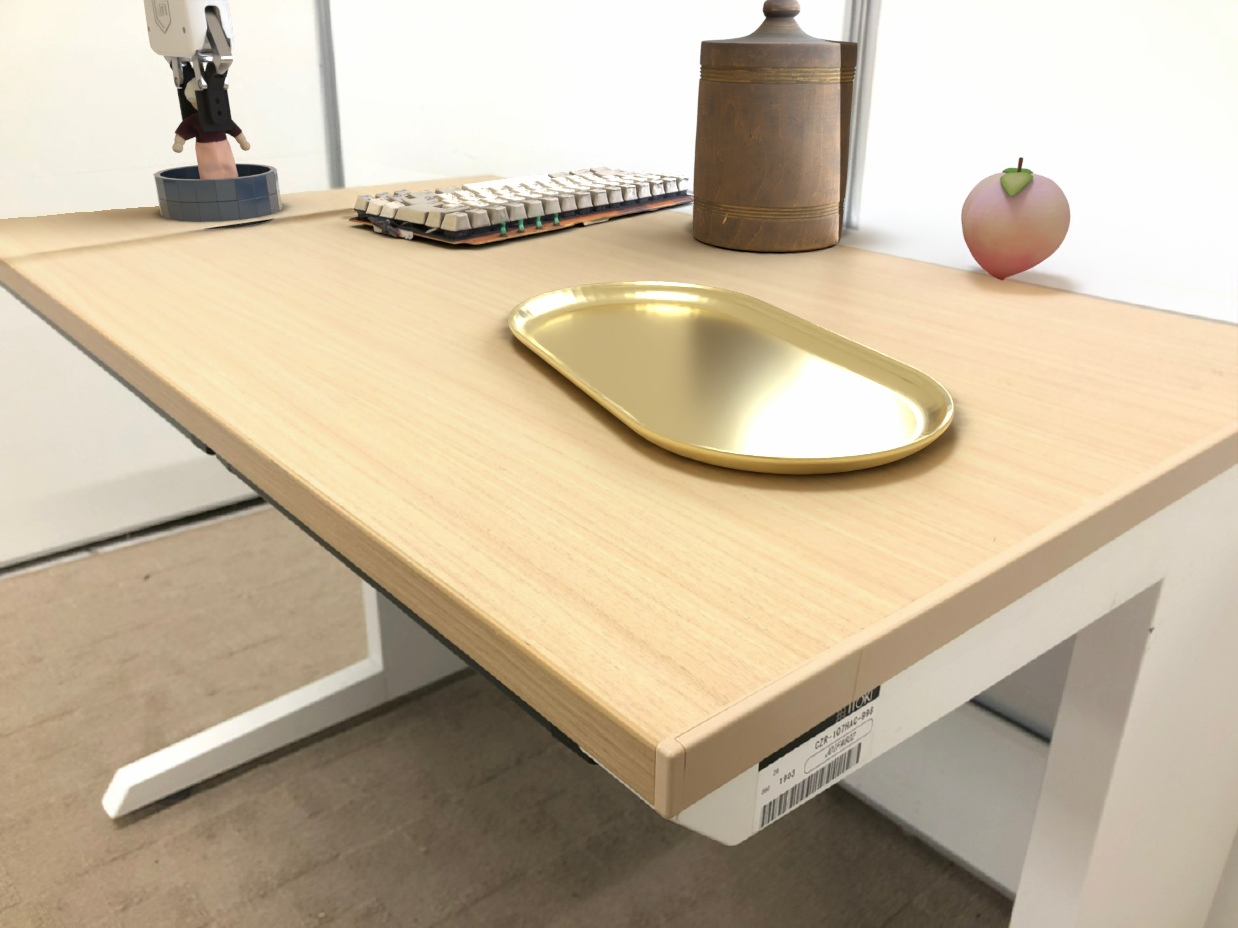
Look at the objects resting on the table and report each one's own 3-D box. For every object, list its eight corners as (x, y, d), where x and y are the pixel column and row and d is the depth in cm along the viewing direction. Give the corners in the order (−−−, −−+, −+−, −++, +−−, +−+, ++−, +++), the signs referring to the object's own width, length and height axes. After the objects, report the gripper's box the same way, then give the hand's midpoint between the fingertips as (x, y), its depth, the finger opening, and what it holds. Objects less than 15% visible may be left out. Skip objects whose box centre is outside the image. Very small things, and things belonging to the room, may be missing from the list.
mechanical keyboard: (587, 184, 129) (586, 158, 128) (704, 203, 118) (705, 174, 117) (341, 228, 104) (338, 195, 102) (461, 257, 92) (459, 220, 91)
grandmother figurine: (245, 195, 111) (226, 74, 105) (261, 199, 108) (243, 74, 103) (177, 204, 106) (153, 76, 101) (192, 208, 103) (168, 77, 98)
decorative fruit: (1067, 297, 79) (1093, 167, 74) (960, 291, 80) (979, 164, 76) (1046, 270, 87) (1067, 151, 83) (949, 265, 89) (965, 148, 84)
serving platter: (695, 290, 80) (696, 271, 79) (1028, 447, 51) (1033, 418, 51) (473, 318, 73) (472, 297, 72) (716, 519, 44) (718, 487, 43)
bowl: (143, 218, 107) (134, 171, 105) (249, 204, 115) (243, 160, 113) (193, 235, 100) (184, 184, 98) (303, 218, 108) (297, 171, 106)
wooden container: (822, 222, 106) (842, -4, 97) (857, 253, 93) (883, -6, 84) (685, 223, 106) (692, -4, 97) (699, 254, 93) (708, -7, 83)
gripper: (103, -68, 99) (140, 126, 107) (174, -76, 88) (209, 139, 96) (178, -64, 104) (207, 121, 111) (253, -72, 93) (280, 133, 101)
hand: (208, 127), depth 104 cm, fingers closed on grandmother figurine, 3 cm apart
